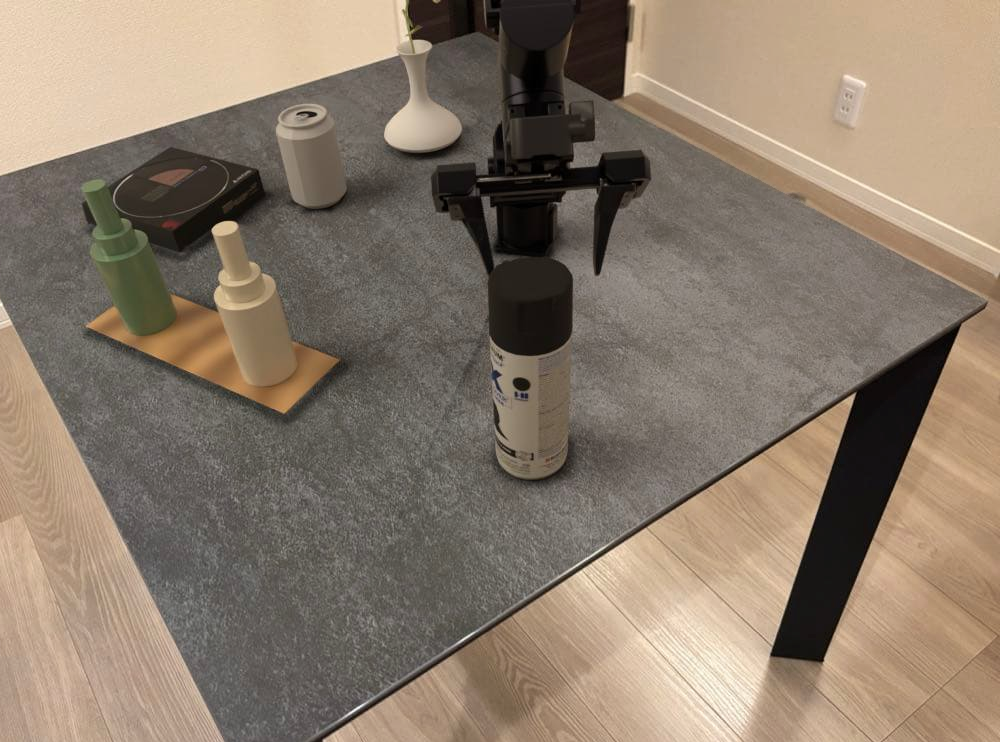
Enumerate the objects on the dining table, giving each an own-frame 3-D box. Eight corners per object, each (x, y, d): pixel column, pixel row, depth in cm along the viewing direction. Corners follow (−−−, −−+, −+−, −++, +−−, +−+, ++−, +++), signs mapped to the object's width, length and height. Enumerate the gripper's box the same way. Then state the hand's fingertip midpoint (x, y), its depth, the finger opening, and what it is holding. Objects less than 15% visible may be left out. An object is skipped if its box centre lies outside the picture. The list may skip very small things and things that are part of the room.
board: (341, 366, 87) (340, 359, 87) (286, 420, 82) (284, 413, 82) (147, 290, 100) (144, 283, 99) (88, 332, 95) (85, 325, 94)
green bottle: (113, 331, 93) (49, 198, 81) (142, 299, 97) (85, 167, 85) (159, 339, 91) (101, 204, 80) (187, 306, 95) (135, 172, 83)
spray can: (492, 432, 79) (480, 257, 65) (562, 424, 79) (565, 248, 65) (500, 485, 74) (489, 309, 60) (575, 477, 74) (581, 299, 60)
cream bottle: (230, 382, 85) (179, 243, 74) (256, 345, 89) (212, 207, 78) (282, 390, 84) (238, 250, 72) (307, 352, 88) (269, 213, 76)
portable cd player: (176, 171, 121) (167, 145, 118) (265, 195, 114) (258, 169, 111) (90, 228, 111) (78, 202, 108) (182, 258, 104) (172, 231, 102)
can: (356, 186, 114) (341, 102, 106) (333, 215, 109) (315, 129, 101) (308, 180, 116) (289, 97, 108) (283, 208, 111) (261, 124, 103)
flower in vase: (462, 158, 117) (447, -32, 100) (382, 163, 118) (354, -25, 100) (463, 116, 127) (449, -65, 109) (389, 121, 127) (364, -58, 110)
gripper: (420, 72, 66) (432, 267, 65) (657, 53, 65) (671, 250, 64) (431, 125, 77) (441, 292, 76) (633, 109, 76) (645, 278, 75)
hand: (545, 278), depth 73 cm, fingers open, 9 cm apart
